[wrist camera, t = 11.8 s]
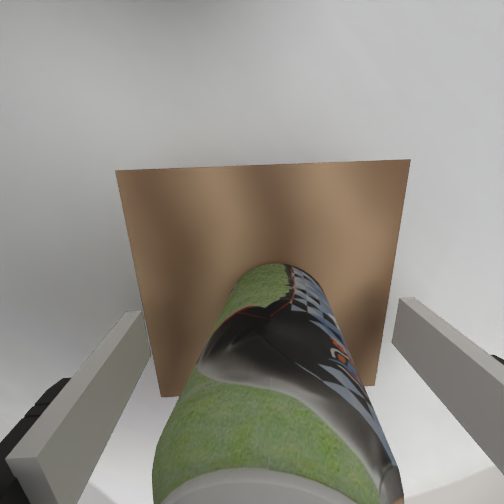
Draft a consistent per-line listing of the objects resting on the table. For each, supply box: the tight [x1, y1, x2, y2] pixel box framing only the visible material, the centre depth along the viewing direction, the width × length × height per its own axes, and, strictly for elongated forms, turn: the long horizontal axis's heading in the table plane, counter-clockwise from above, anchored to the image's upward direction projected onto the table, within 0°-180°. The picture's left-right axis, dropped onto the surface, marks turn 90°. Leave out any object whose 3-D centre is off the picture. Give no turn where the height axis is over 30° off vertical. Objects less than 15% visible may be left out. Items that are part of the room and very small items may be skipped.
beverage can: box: [152, 263, 404, 504], centre depth 10 cm, size 6×7×12 cm
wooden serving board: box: [115, 159, 411, 397], centre depth 18 cm, size 16×16×4 cm
